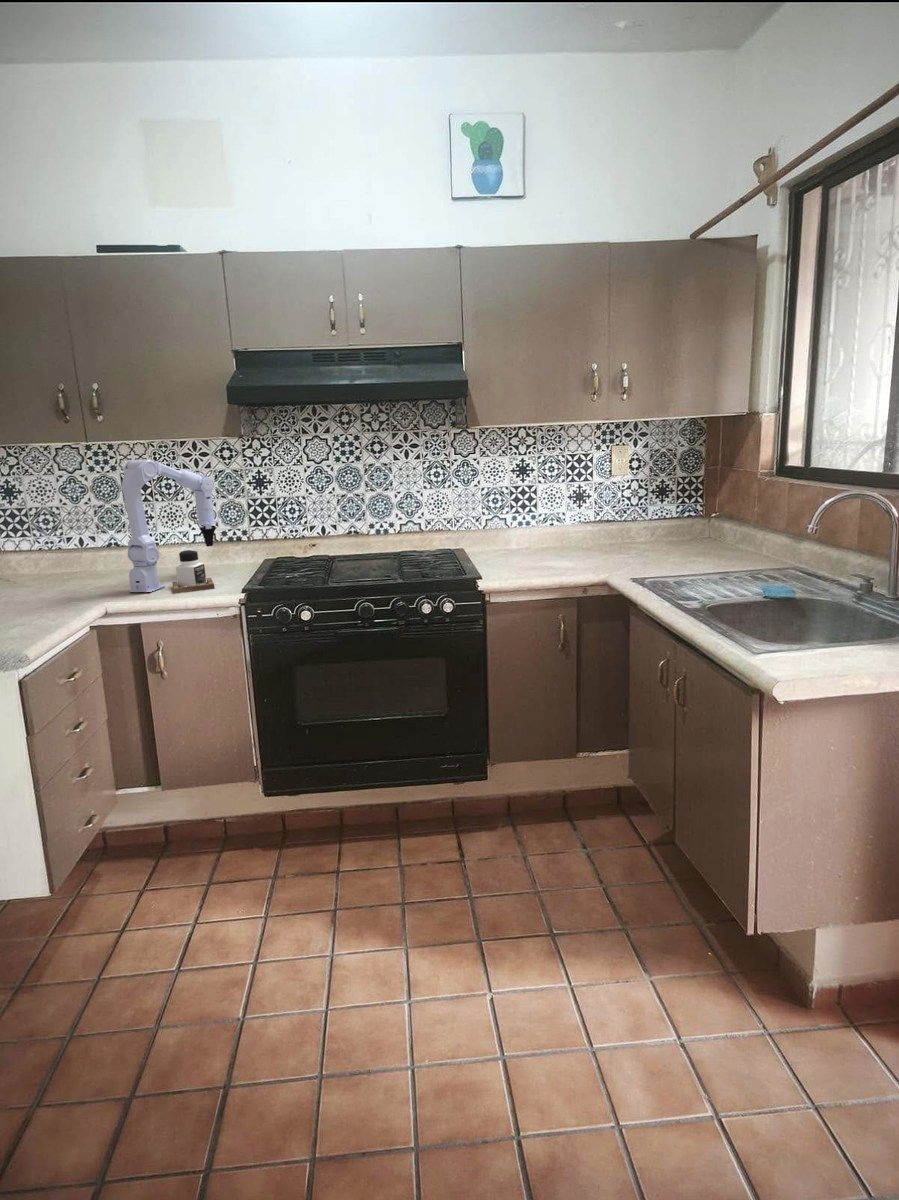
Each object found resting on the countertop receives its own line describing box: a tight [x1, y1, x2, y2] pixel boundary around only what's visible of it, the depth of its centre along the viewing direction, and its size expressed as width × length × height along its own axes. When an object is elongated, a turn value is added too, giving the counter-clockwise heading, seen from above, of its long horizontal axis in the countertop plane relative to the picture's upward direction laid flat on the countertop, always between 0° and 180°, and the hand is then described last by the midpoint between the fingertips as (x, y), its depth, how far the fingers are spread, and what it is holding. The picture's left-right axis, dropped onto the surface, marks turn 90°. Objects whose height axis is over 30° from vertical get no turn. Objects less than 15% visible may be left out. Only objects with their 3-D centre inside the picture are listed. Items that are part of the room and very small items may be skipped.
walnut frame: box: [171, 577, 215, 594], centre depth 265 cm, size 12×13×2 cm
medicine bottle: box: [175, 549, 207, 587], centre depth 269 cm, size 7×7×12 cm
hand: (209, 546), depth 285 cm, fingers closed
